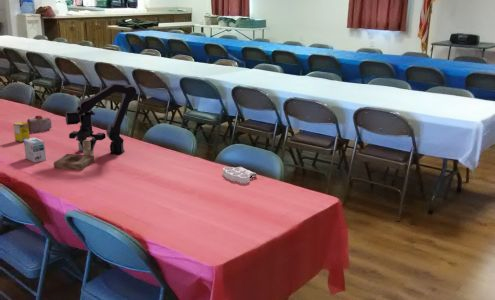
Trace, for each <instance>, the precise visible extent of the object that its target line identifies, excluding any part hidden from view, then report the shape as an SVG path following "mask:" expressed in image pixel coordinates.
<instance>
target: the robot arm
mask: <svg viewBox="0 0 495 300" xmlns="http://www.w3.org/2000/svg"><path fill="white" fill-rule="evenodd" d="M116 92H117V93H120V94H122V95H121V101H120V104H119V107H118V109H117V111H116V115H115V116H114V117H115V118H114V120H113V122H112V123H111V125H110V124H108V126H107V129H106V130H105V132H97V133H94V130H93V126H94V124H93V118H92V116H95V115H96V113H95V112H93V110H92V109H94V107H95V106H96V105H97V104H98V103H99V102H101V101H103V100H105V99H106V98H108V97H109V96H111V95H112V94H115V93H116ZM136 94H137V89H136V88H135V86H133V85H131V84H119V83H118V84H117V83H115V82H113V83H111V84H110V85H109V86H107V87H106V88H103V89H102V90H101V91H99V92H97V93H96V94H94V95H91V96H88V97H85V98H83V99H81V100H79V103H78V106H77V108H76V109H75V111H66V112H65V123H66V125H67V126H71V125H78V124H79V123H80V126H79V130H78V131H77V130H73V131H72V132H70V133H69V134H68V139H72V140H73V139H75V140H76V141H78V143H79V142H80V144H81V145H82V148H83V141H84V140H86V139H88V138H91V140H90V142H91V151H93V152H94V148H95V145H96V143H97V141H103V140H104V139H106V138H108V139H109V141H110V144H109V151H110V152H109V154H110V155H122V154H123V153H125V151H126V150H125V148H124V139H123V137H122V136H121V127H122V124H123V121H124V120H125V119H124V118H125V116H126V113H127V111H128V108H129V105H130V103H131V102H132V101H133V99H135V96H136Z"/></svg>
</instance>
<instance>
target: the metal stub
mask: <svg viewBox="0 0 495 300" xmlns="http://www.w3.org/2000/svg"><path fill="white" fill-rule="evenodd" d="M77 145H78V152H83V148H82V145H81V144H80V142H79V141H78V143H77Z"/></svg>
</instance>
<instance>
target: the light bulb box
mask: <svg viewBox="0 0 495 300" xmlns="http://www.w3.org/2000/svg"><path fill="white" fill-rule="evenodd" d="M23 146H24V154H25V159H27V160H28V161H30V162H32V163H38V162H43V161H47V157H46V147H45V146H46V145H45V140H42V139H39V138H37V137H30V138H29V139H24V142H23Z"/></svg>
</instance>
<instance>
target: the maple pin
mask: <svg viewBox="0 0 495 300" xmlns="http://www.w3.org/2000/svg"><path fill="white" fill-rule="evenodd" d="M91 139H92V138H91ZM91 139H89V138H87V139H86V140H84V141H83V154H82V155H92V156H95V154H94V150H93V151H91V142H90V140H91Z"/></svg>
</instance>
